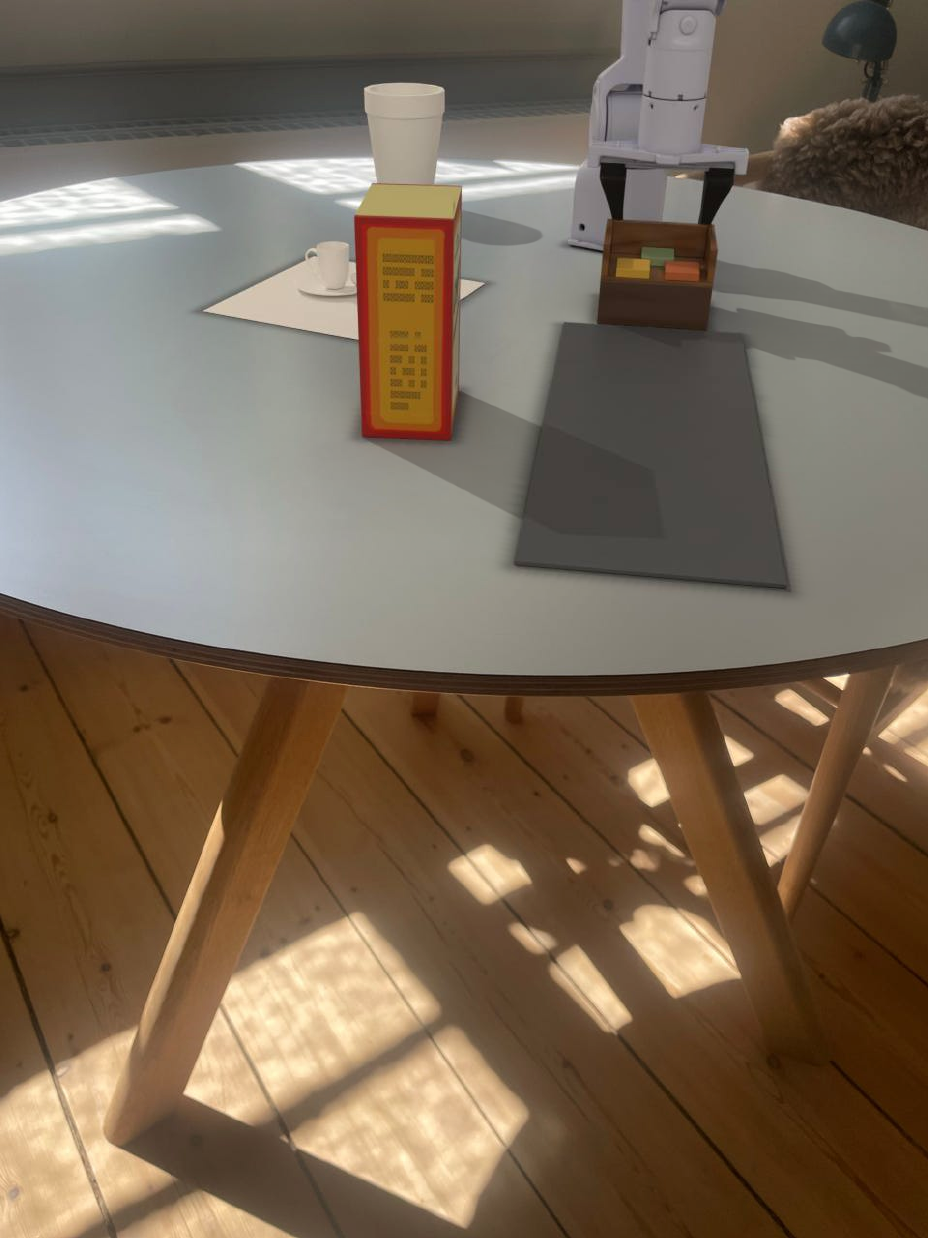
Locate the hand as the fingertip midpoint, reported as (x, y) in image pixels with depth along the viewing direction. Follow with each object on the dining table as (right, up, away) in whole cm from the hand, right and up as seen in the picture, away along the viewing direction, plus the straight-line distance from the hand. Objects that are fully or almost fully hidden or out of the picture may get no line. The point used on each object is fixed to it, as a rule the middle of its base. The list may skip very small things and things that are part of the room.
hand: (657, 247), depth 108 cm
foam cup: (-26, +15, +30) cm, 42 cm away
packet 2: (+1, -5, -7) cm, 8 cm away
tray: (-1, -3, -4) cm, 5 cm away
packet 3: (-1, -2, -3) cm, 4 cm away
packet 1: (-3, -4, -6) cm, 8 cm away
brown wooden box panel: (-1, -7, -2) cm, 7 cm away
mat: (-5, -21, -24) cm, 33 cm away
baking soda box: (-23, -20, -22) cm, 38 cm away
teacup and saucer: (-30, -5, 0) cm, 30 cm away
